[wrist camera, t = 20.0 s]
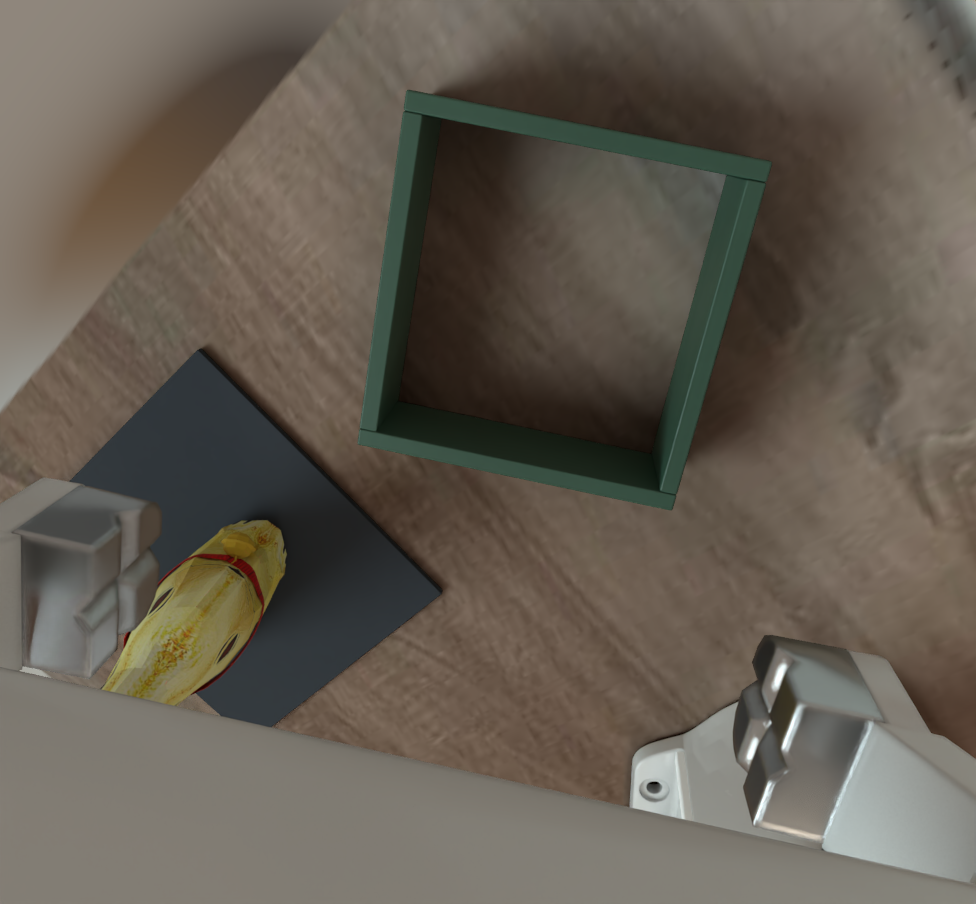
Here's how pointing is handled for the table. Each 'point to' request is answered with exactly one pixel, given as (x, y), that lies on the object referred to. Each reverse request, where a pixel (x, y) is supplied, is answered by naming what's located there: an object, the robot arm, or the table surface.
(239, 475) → the mat
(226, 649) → the chocolate bunny
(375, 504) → the table surface
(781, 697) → the robot arm
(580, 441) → the crate
